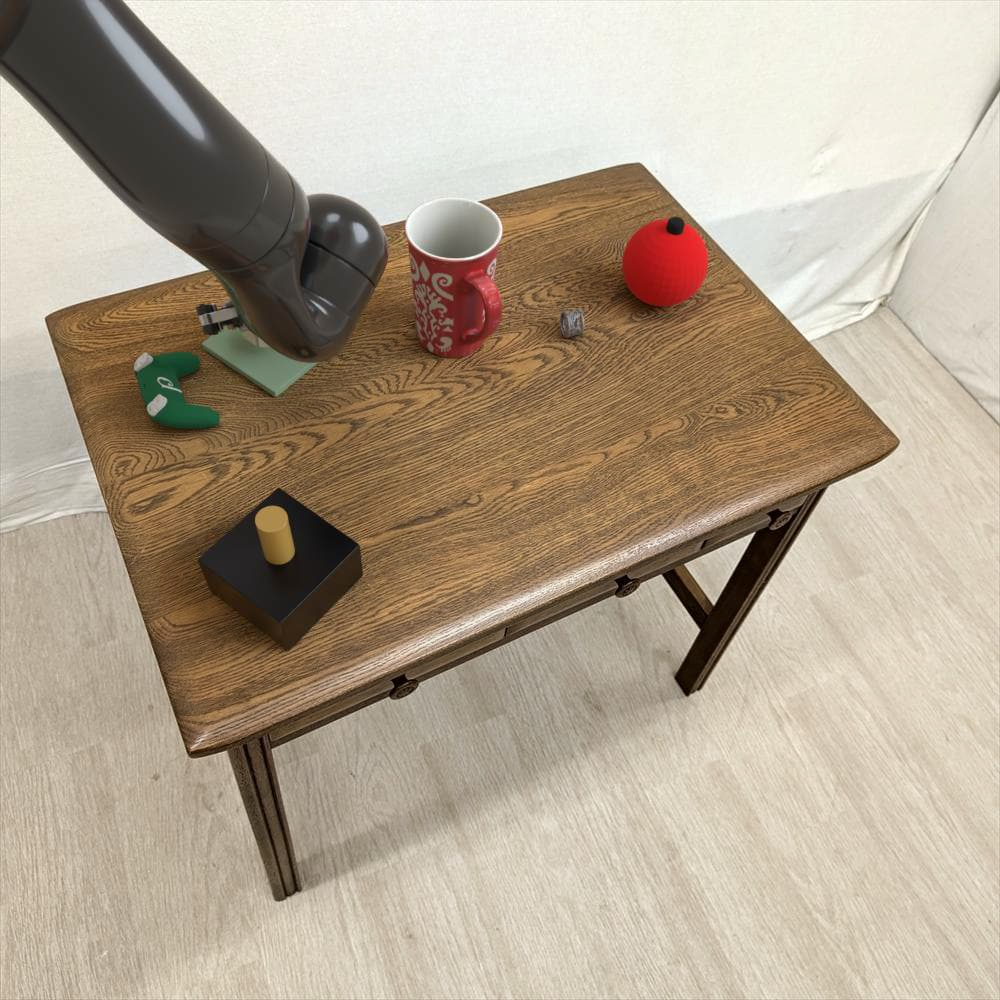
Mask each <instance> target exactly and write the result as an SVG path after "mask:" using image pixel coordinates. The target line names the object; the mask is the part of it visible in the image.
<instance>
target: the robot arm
mask: <svg viewBox="0 0 1000 1000" xmlns="http://www.w3.org/2000/svg"><path fill="white" fill-rule="evenodd" d="M0 77H1V78H3V80H4V81H6V83H8V85H10V86H11V87H12V88H13V89H14V90H15V91H16V92H17V93H18V94H19V95H20V96H21V97H22V98H23V99H24V100H25V101H26V102H27V103H28V104H29V105H30V106H31V107H32V108H33V109H34V110H35V111H36V112H37V113H38V114H39V116H41V117H42V118H43V119H44V121H46V123H48V124H49V125H50V127H51V128H52V129H53V130H54V131H55V132H56V133H57V134H58V135H59V137H60V138H61V139H62V140H63V141H64V142H65V143H66V144H67V145H68V147H69V148H70V149H71V150H72V151H73V153H75V154H76V155H77V156H78V158H79V159H80V160H81V161H82V162H83V163H84V164H85V165H86V167H88V169H89V170H90V171H91V172H92V173H93V174H94V175H95V176H96V178H97V179H99V181H100V182H101V183H102V184H103V185H104V186H105V187H106V188H107V189H108V190H109V191H110V192H111V193H112V194H113V195H114V196H115V197H116V198H117V199H118V200H119V201H120V202H121V203H123V204H124V206H126V207H127V209H129V210H130V211H131V212H132V213H133V214H134V215H136V216H137V217H138V218H139V219H140V220H141V221H142V222H143V223H144V224H146V225H147V226H148V227H149V228H151V229H152V230H153V231H154V232H156V234H158V235H159V236H161V237H163V238H164V239H165V240H166V241H168V242H169V243H171V244H172V245H174V246H175V247H176V248H178V249H180V250H181V251H182V252H184V253H185V254H186V255H188V256H190V257H191V258H192V259H194V260H195V261H196V262H198V263H199V264H200V265H201V266H204V267H205V268H206V269H207V270H209V272H211V273H212V275H213V276H214V278H215V279H216V280H217V282H219V284H220V285H221V287H222V288H223V289H224V291H225V292H226V294H227V295H228V297H229V299H228V300H225V301H222V303H219V306H220V307H219V308H220V309H218V307H217V303H215V302H213V303H204V302H203V303H199V304H198V306H196V307H195V310H196V314H197V316H198V320H199V323H200V326H201V329H202V332H203V335H204V336H212V335H217V334H219V333H218V332H222V330H224V328H223V327H225V326H227V329H228V330H230V329H232V331H233V330H237V328H239V330H240V331H242V332H243V331H247V330H250V331H251V332H252V333H253V334H254V335H256V336H257V337H259V338H260V339H261V340H262V341H263V342H265V343H266V344H267V345H268V346H269V347H271V348H272V349H274V350H275V351H276V352H278V353H280V354H281V355H283V356H285V357H287V358H290V359H292V360H296V361H299V362H305V363H317V362H319V363H322V362H325V361H328V360H330V359H333V358H334V357H336V356H337V355H339V354H340V352H342V351H343V350H344V348H345V347H346V346H347V344H348V343H349V341H350V340H351V338H352V336H353V333H354V331H355V329H356V328H357V325H358V324H359V322H360V319H361V317H362V316H363V313H364V312H365V310H366V308H367V307H368V304H369V302H370V300H371V299H372V297H373V294H374V293H375V292H376V291H375V289H376V288H377V287H378V285H379V283H380V281H381V279H382V276H383V275H384V273H385V270H386V268H387V265H388V261H389V257H390V255H389V242H388V239H387V236H386V233H385V231H384V229H383V228H382V226H381V224H380V223H379V221H378V220H377V219H376V217H375V216H374V215H373V214H372V213H371V212H370V211H369V210H367V209H366V208H365V207H363V206H362V205H361V204H359V203H358V202H356V201H354V200H352V199H350V198H347V197H345V196H342V195H340V194H339V195H338V194H334V193H324V192H321V193H320V192H319V193H312V194H306V192H305V190H304V189H303V187H302V186H301V185H300V183H299V182H298V180H297V179H296V178H295V177H294V176H293V175H292V173H291V172H290V171H289V170H287V168H286V167H285V166H284V165H283V164H282V163H281V162H280V161H279V160H278V159H277V158H276V157H275V156H274V155H273V154H272V153H271V151H269V150H268V149H267V148H266V147H265V146H264V145H263V144H262V143H261V141H260V140H259V139H258V138H256V137H255V135H254V134H252V132H251V131H250V130H249V129H248V128H247V127H246V126H245V125H244V124H243V123H242V122H241V121H240V120H239V118H238V119H237V117H236V116H235V115H234V114H233V113H232V112H231V111H230V110H229V109H228V108H227V107H226V106H225V105H224V104H223V103H222V102H221V101H220V100H219V99H218V98H217V97H216V96H215V95H214V94H213V93H212V92H211V91H210V90H209V88H207V87H206V86H205V85H204V83H202V82H201V81H200V80H199V79H198V78H197V77H196V76H195V75H194V74H193V73H192V72H191V71H190V70H189V69H188V68H187V67H186V66H185V65H184V64H183V63H182V61H181V60H180V59H179V58H178V57H177V56H176V55H175V54H174V53H173V52H172V51H171V50H170V49H169V48H168V47H167V46H166V45H165V44H164V43H163V42H162V41H161V40H160V39H159V37H158V36H157V35H155V33H154V32H153V31H152V30H151V29H150V28H149V27H148V25H146V24H145V23H144V22H143V20H141V19H140V17H139V16H138V15H137V14H136V13H135V12H134V11H133V10H132V8H130V6H129V5H128V4H127V3H126V2H125V1H124V0H0Z"/></svg>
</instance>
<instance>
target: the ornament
mask: <svg viewBox="0 0 1000 1000" xmlns="http://www.w3.org/2000/svg"><path fill="white" fill-rule="evenodd" d="M708 269H709V253H708V250H707V246H706V243H705V240H704V239H703V237H702V236H701V235H700V233H699V232H698V230H696V229H695V228H694V227H692V226H691V225H690V224H688V223H686V222H685V221H684V219H682V218H681V217H679V216H672V217H670V218H661V219H656V220H652V221H651V222H648V223H646V224H644V225H642V226H641V227H640V228H639V229H637V230H636V231H635V232H634V233H633V235H631V237H630V239H629V241H628V242H627V243H626V246H625V249H624V251H623V254H622V261H621V270H622V275H623V280H624V281H625V283H626V286H627V287H628V289H629V290H630V292H631V293H632V294H633V296H635V297H636V298H637V299H639V300H640V301H642V302H643V303H646V304H648V305H651V306H655V307H661V308H662V307H663V308H664V307H672V306H676V305H679V304H681V303H684V302H686V301H687V300H688V299H690V298H691V297H693V296H694V295H695V294H696V293H697V291H698V290H700V288H701V286H703V285H702V284H703V283H704V280H705V279H706V277H707V273H708Z"/></svg>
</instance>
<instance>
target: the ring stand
mask: <svg viewBox="0 0 1000 1000" xmlns="http://www.w3.org/2000/svg"><path fill="white" fill-rule="evenodd" d="M196 560H197V563H198V565H199V567H200V570H201V572H202V575H203V577H204V581H205V582H206V585H207V588H208V590H209V591H211V593H213V594H214V595H215V596H216V597H218V598H219V599H221V600H222V601H223V602H224V603H226V604H227V605H228V606H229V607H230V608H232V609H233V610H235V611H236V612H237V613H238V614H239V615H241V616H242V617H244V618H245V619H246V620H247V621H248V622H250V623H251V624H252V625H254V626H255V627H257V629H259V630H260V631H262V632H263V633H265V634H266V635H267V636H268V637H269V638H271V639H272V640H273V641H275V642H276V643H277V644H278V645H280V646H281V647H282V648H284V649H285V650H286V651H287V652H289V651H291V650H292V649H293V647H295V645H297V644H298V643H299V642H300V641H301V639H303V637H305V635H306V634H307V633H309V631H310V630H311V629H312V628H313V627H314V626H315V625H316V624H317V623H318V622H319V621H321V619H322V618H323V617H324V616H325V615H326V614H327V613H328V612H329V611H330V610H332V608H333V607H334V606H335V605H336V604H338V602H339V601H340V600H341V599H342V598H343V596H345V595H346V594H347V593H348V591H349V590H351V588H353V586H355V585H356V583H358V582H359V580H360V579H361V578H362V577H363V576H364V569H363V561H362V560H363V559H362V552H361V544H359V542H357V541H356V540H354V539H353V538H351V537H350V536H348V535H347V534H345V533H344V532H342V531H341V530H340V529H338V528H337V527H335V526H334V525H333V524H331V522H328V521H327V520H325V519H324V518H323V517H321V516H320V515H319V514H317V513H316V512H315V511H313V510H311V508H309V507H307V506H306V505H305V504H304V503H302V502H300V501H299V500H298V499H296V497H295V498H294V497H293V496H292V495H290V494H289V493H288V492H286V491H285V490H283V489H282V488H281V487H279V486H278V487H277V488H276V489H275V490H274V491H272V492H271V493H270V494H268V496H267V497H265V498H264V499H263V500H262V501H261V502H260V503H259V504H258V505H257V506H255V507H254V508H253V509H252V510H251V511H250V512H248V514H247V515H245V516H244V517H243V518H242V519H241V520H240V521H238V522H237V523H236V524H235V525H234V526H233V527H232V528H231V529H229V531H227V532H226V533H225V534H224V535H222V536H221V537H220V538H219V539H218V540H217V541H215V543H213V545H212V546H210V547H209V548H208V549H207V550H205V552H204V553H202V554H201V555H200V556H199V557H198V558H197V559H196Z"/></svg>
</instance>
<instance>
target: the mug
mask: <svg viewBox="0 0 1000 1000" xmlns="http://www.w3.org/2000/svg"><path fill="white" fill-rule="evenodd" d="M503 233H504V228H503V223H502V221H501V219H500V217H499V215H497V214H496V212H495V211H494V210H492V208H490V207H488V206H487V205H485V204H484V203H481V202H478V201H476V200H473V199H470V198H464V197H455V196H453V197H450V196H448V197H447V196H446V197H439V198H434V199H430V200H428V201H426V202H424V203H421V204H420V205H417V207H415V208H414V209H413V210H412V211H411V212H410V213H409V215H407V218H406V220H405V222H404V234H405V235H404V236H405V238H406V241H407V245H408V258H409V267H410V276H411V286H412V297H413V298H412V299H413V309H414V321H415V332H416V337H417V340H418V342H419V344H420V345H421V346H422V347H423V348H424V349H426V350H427V351H428V352H430V353H431V354H434V355H436V356H439V357H443V358H452V359H453V358H462V357H466V356H469V355H471V354H473V353H475V352H476V351H478V350H479V349H481V346H483V345H484V343H485V341H486V339H487V338H489V337H491V336H492V335H493V334H494V333H495V332H496V331H497V330H498V329H499V326H500V325H501V321H502V319H503V318H502V316H503V300H502V296H501V293H500V290H499V288H498V286H497V285H496V283H495V276H496V269H497V262H498V255H499V247H500V243H501V240H502V239H503Z"/></svg>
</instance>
